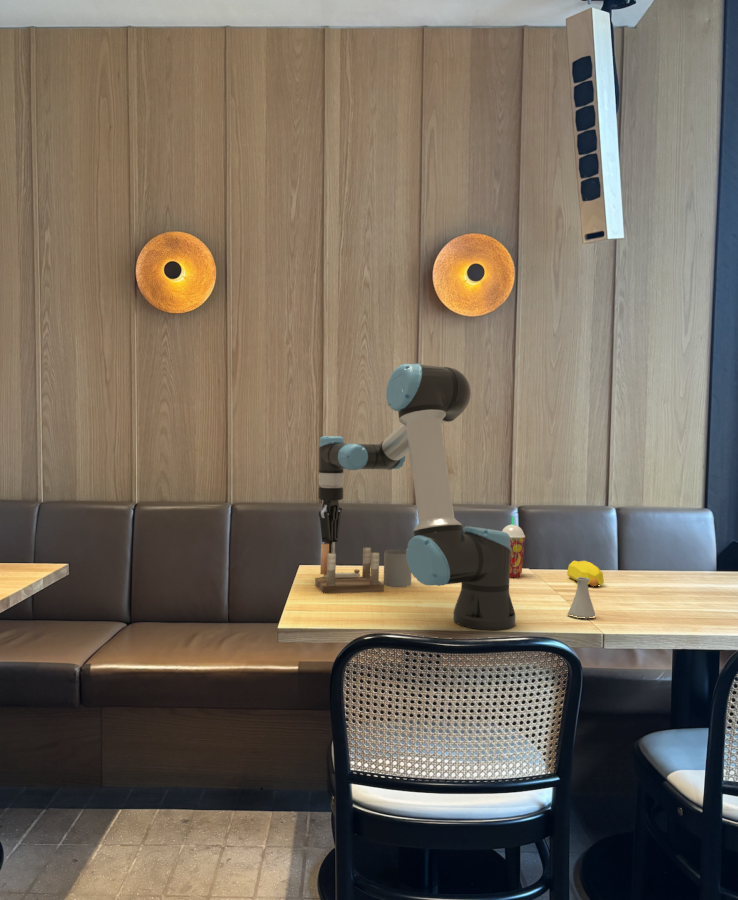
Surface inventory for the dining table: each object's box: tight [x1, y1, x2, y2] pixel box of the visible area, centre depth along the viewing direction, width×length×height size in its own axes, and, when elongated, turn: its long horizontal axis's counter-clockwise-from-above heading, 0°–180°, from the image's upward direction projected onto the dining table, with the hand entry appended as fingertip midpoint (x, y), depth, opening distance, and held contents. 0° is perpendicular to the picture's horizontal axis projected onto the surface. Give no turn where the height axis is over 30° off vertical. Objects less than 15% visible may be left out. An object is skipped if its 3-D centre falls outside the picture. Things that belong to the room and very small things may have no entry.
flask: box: [567, 577, 596, 618], centre depth 179 cm, size 7×7×10 cm
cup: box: [383, 549, 412, 588], centre depth 212 cm, size 8×8×10 cm
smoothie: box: [501, 515, 526, 578], centre depth 230 cm, size 8×8×20 cm
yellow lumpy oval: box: [566, 560, 605, 587], centre depth 224 cm, size 18×7×8 cm
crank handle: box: [319, 542, 361, 578], centre depth 209 cm, size 2×12×10 cm, turn 104°
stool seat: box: [314, 547, 385, 594], centre depth 205 cm, size 12×18×11 cm
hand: (329, 563), depth 212 cm, fingers closed
